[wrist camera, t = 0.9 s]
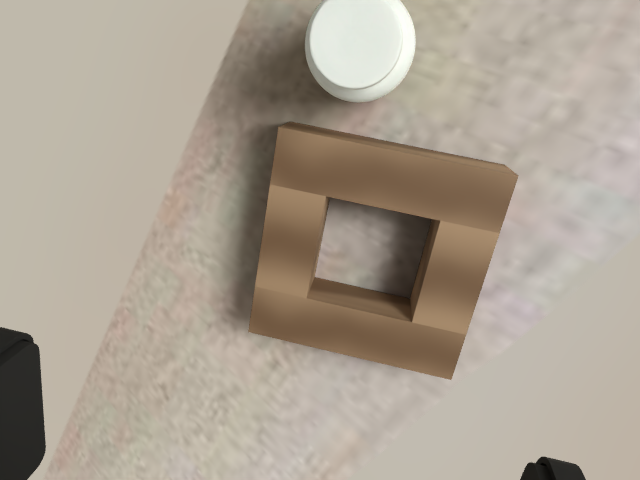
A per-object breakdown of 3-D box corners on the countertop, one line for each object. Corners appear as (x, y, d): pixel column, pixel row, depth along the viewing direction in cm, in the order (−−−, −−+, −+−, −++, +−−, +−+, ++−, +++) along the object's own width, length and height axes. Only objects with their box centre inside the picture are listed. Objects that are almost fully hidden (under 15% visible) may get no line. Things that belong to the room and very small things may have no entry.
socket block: (290, 121, 31) (278, 126, 28) (504, 164, 30) (518, 175, 27) (261, 308, 36) (248, 331, 33) (445, 351, 35) (451, 379, 32)
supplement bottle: (412, 93, 30) (421, 100, 21) (327, 102, 31) (300, 113, 22) (408, -3, 28) (416, -40, 19) (318, 10, 29) (285, -20, 20)
